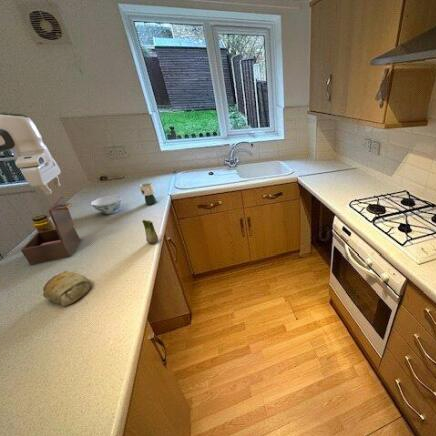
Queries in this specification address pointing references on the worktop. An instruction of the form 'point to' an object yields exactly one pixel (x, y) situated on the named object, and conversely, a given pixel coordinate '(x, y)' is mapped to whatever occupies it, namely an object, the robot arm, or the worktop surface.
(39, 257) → the chest
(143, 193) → the character mug
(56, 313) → the worktop surface
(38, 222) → the condiment
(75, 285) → the pastry
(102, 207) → the chinaware
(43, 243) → the pink rectangular block
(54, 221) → the chest lid
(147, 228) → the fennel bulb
